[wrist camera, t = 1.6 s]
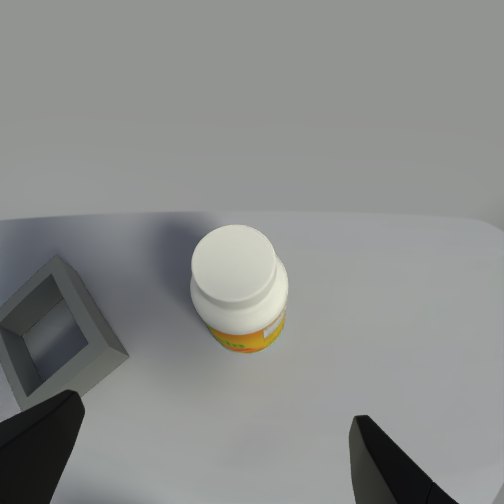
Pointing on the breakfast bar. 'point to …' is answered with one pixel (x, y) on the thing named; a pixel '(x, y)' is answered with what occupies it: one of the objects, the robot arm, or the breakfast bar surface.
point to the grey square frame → (32, 310)
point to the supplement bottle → (239, 288)
